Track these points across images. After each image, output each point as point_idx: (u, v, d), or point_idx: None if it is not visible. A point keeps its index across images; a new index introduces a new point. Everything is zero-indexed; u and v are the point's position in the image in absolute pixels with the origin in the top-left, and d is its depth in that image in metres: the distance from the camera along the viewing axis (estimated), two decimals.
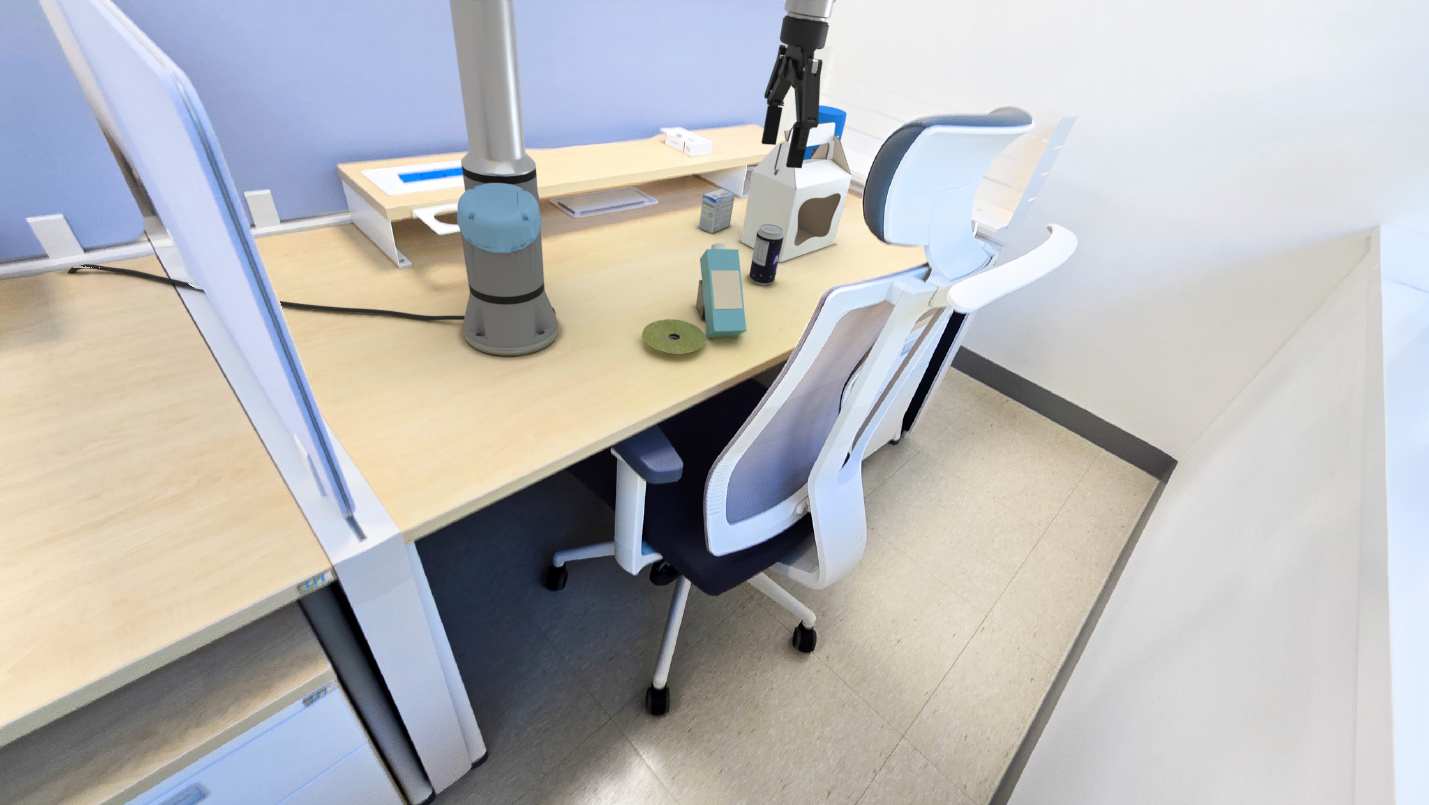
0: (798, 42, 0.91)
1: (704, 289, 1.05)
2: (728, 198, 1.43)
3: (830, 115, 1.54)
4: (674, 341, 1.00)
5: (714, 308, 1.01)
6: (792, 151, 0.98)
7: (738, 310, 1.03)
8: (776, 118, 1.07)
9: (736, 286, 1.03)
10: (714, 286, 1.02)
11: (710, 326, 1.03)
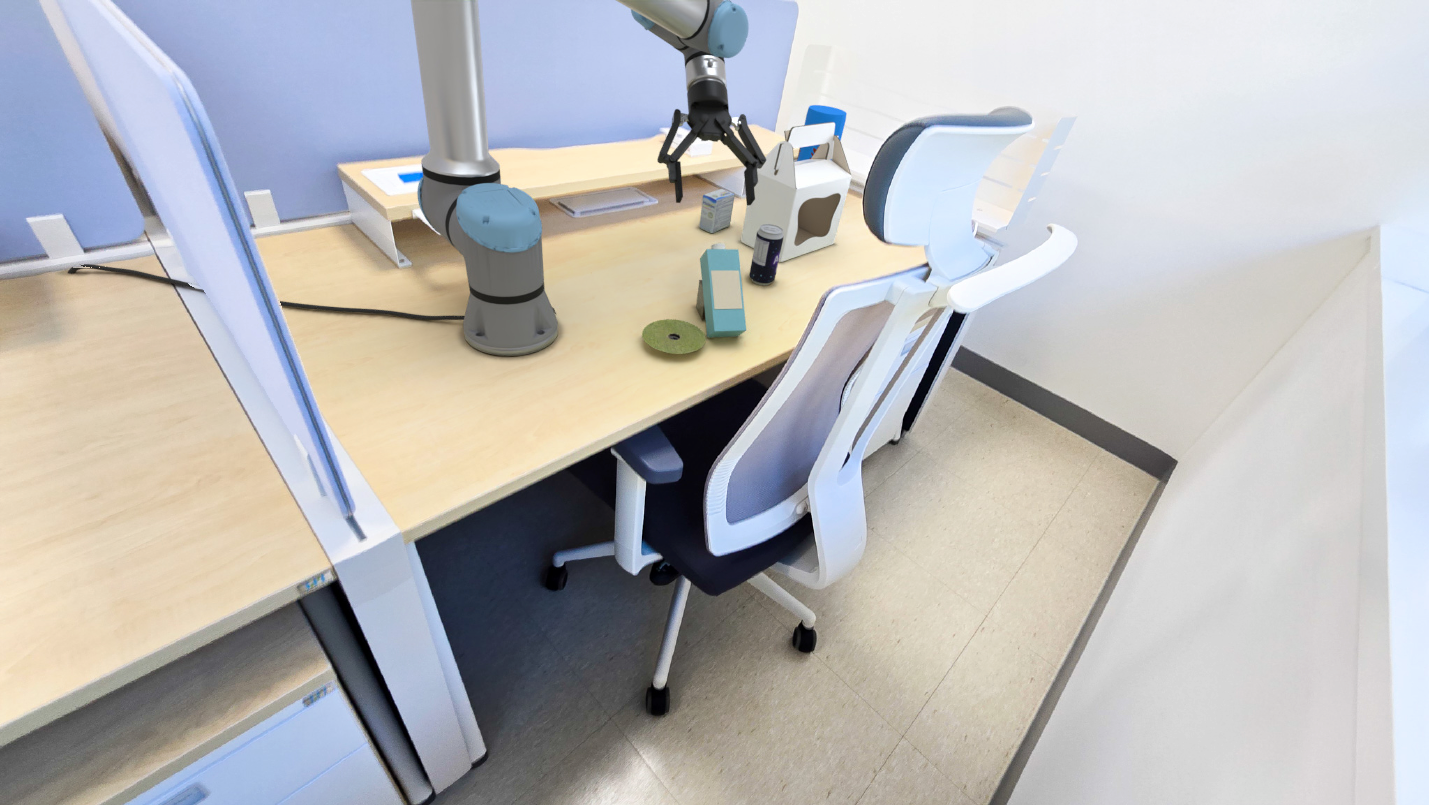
0: None
1: (704, 289, 1.05)
2: (728, 198, 1.43)
3: (830, 115, 1.54)
4: (674, 341, 1.00)
5: (714, 308, 1.01)
6: (675, 187, 1.05)
7: (738, 310, 1.03)
8: (747, 176, 1.07)
9: (736, 286, 1.03)
10: (714, 286, 1.02)
11: (710, 326, 1.03)
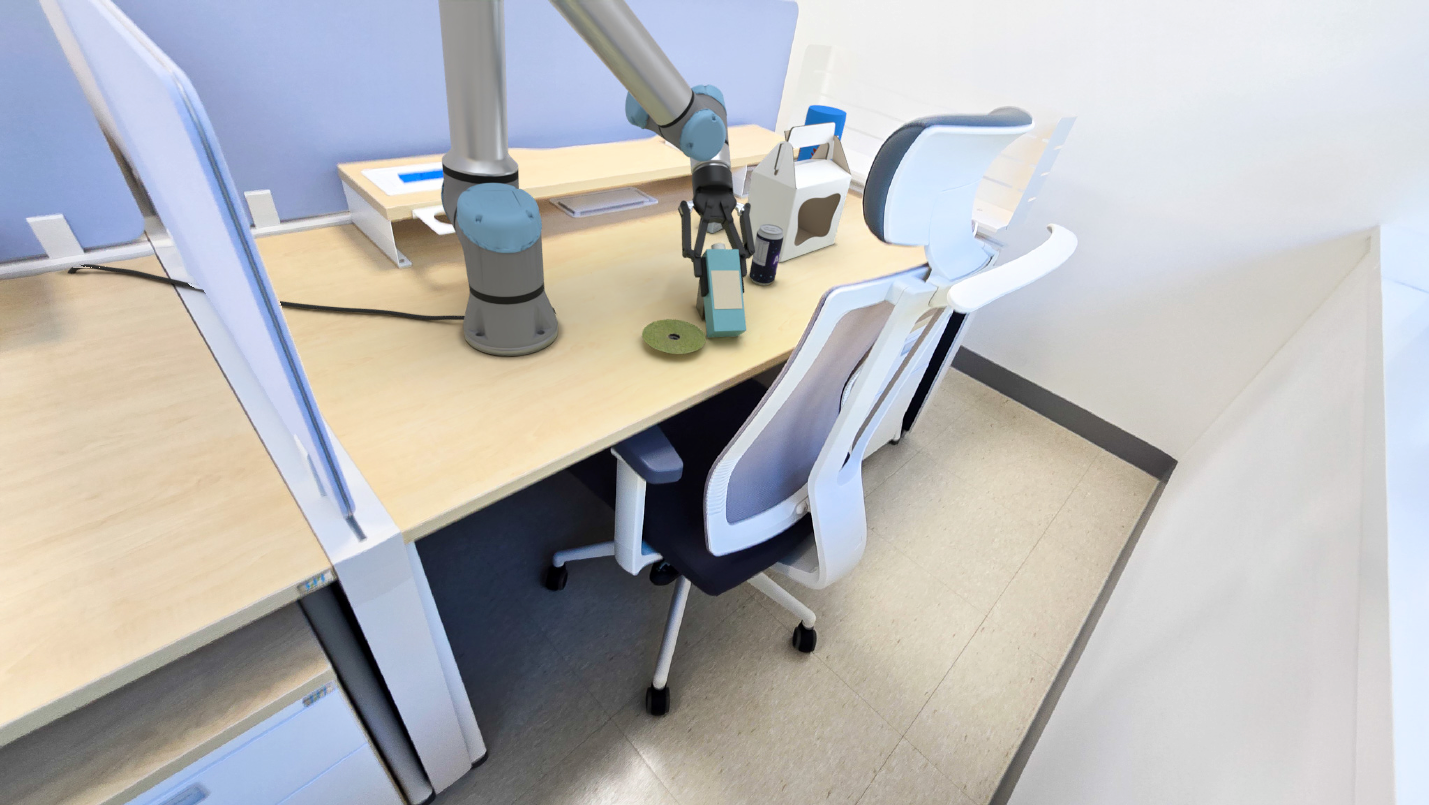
0: None
1: None
2: None
3: (830, 115, 1.54)
4: (674, 341, 1.00)
5: (714, 308, 1.01)
6: (700, 282, 1.05)
7: (738, 310, 1.03)
8: None
9: (736, 286, 1.03)
10: (714, 286, 1.02)
11: (710, 326, 1.03)
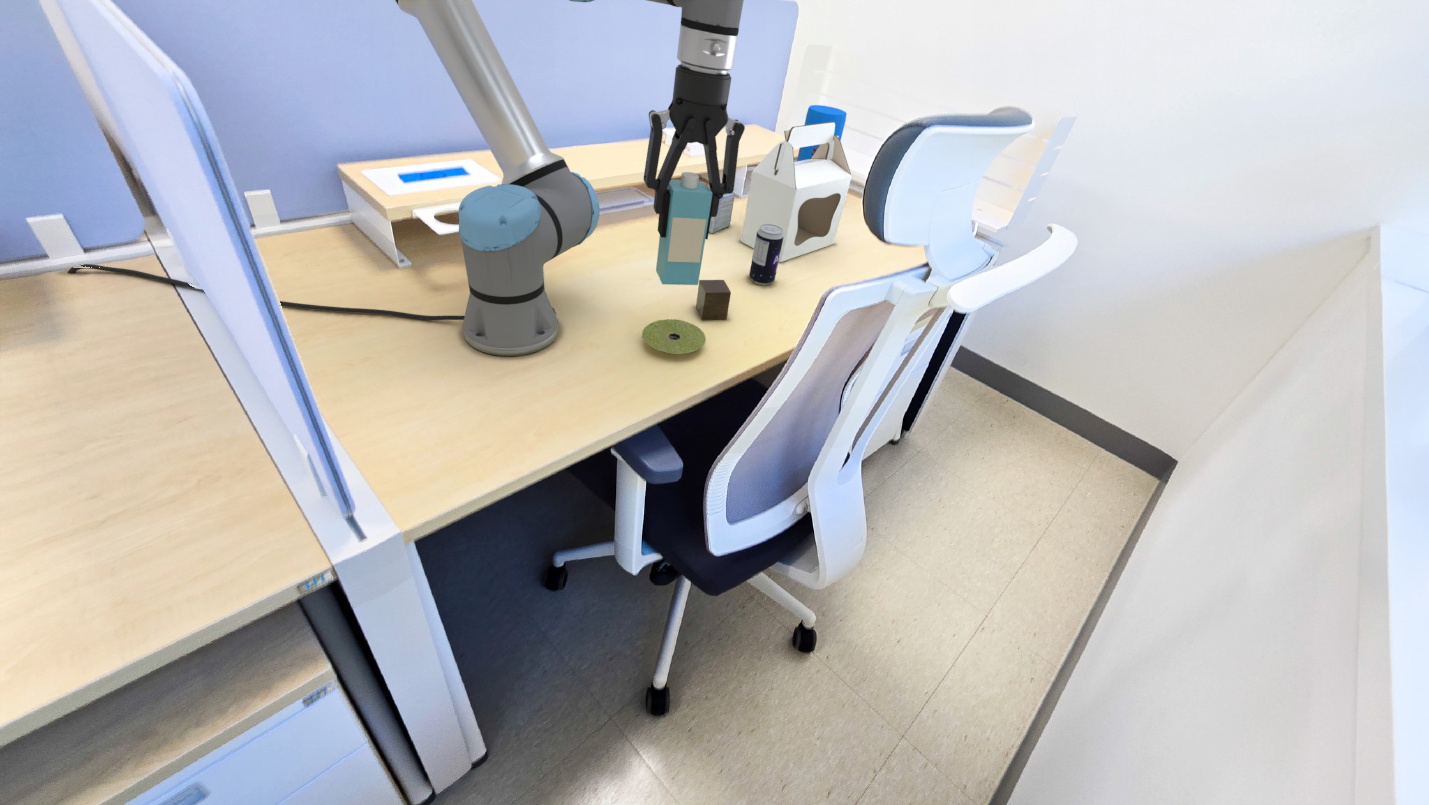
0: None
1: None
2: (728, 198, 1.43)
3: (830, 115, 1.54)
4: (674, 341, 1.00)
5: (667, 260, 0.89)
6: (659, 214, 0.88)
7: (694, 263, 0.91)
8: None
9: (698, 238, 0.89)
10: (673, 236, 0.87)
11: (660, 269, 0.93)
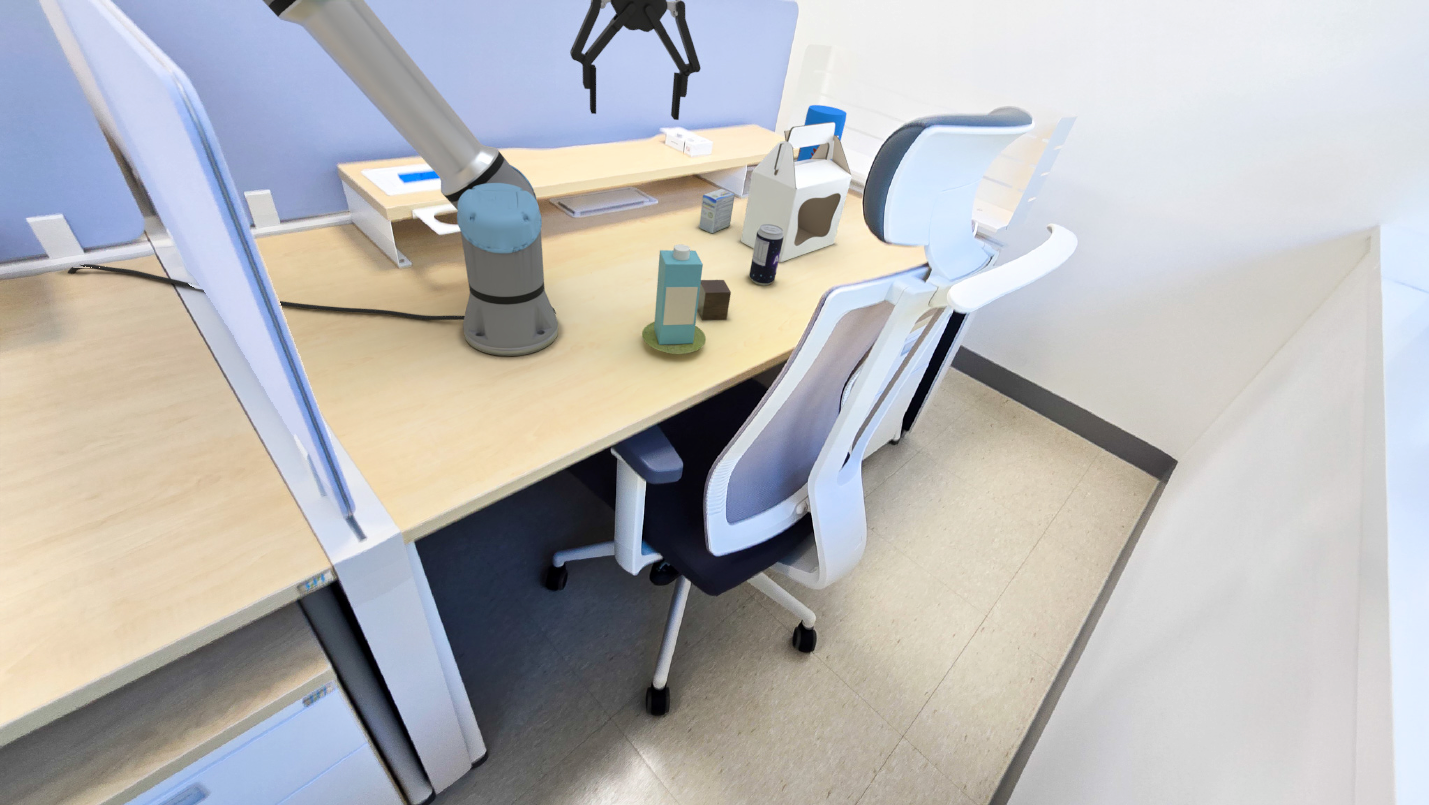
0: None
1: (658, 288, 0.96)
2: (728, 198, 1.43)
3: (830, 115, 1.54)
4: None
5: (662, 324, 0.96)
6: None
7: (688, 325, 0.97)
8: (675, 87, 0.94)
9: (691, 303, 0.95)
10: (667, 303, 0.94)
11: (657, 330, 0.99)
